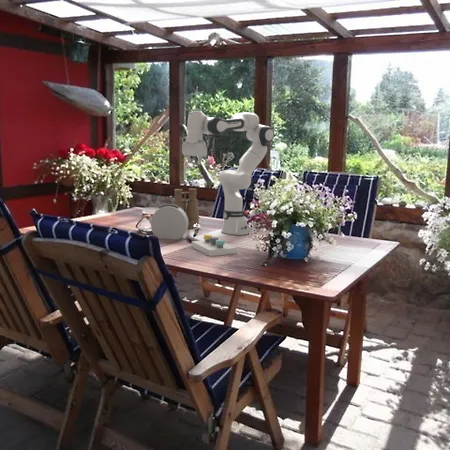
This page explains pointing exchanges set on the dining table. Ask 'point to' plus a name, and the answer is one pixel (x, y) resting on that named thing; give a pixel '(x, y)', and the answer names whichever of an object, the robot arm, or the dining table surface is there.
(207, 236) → the button mustard
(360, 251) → the dining table surface
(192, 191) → the binoculars
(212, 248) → the panel
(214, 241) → the button charcoal
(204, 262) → the dining table surface
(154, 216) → the grey round slab
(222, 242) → the button teal
